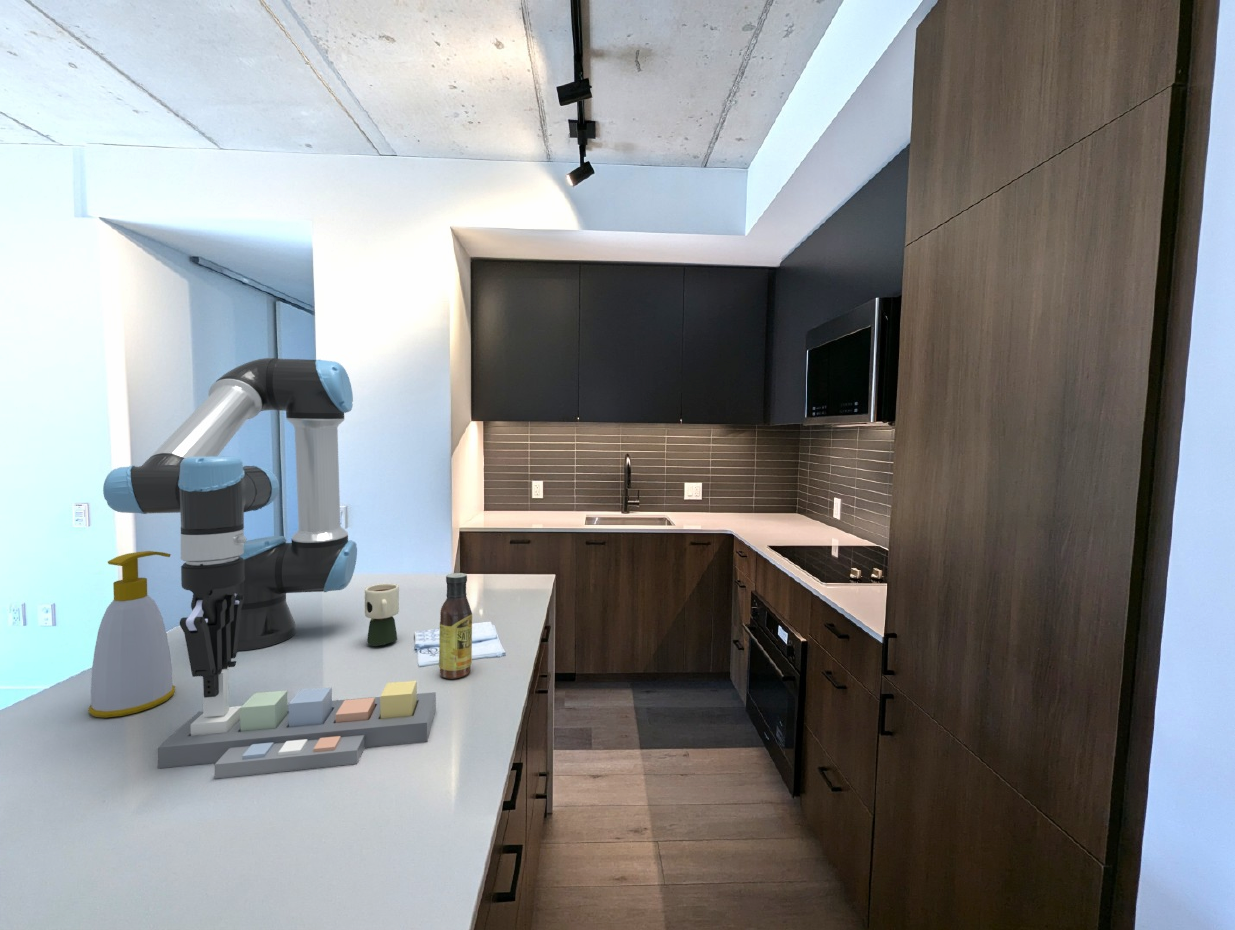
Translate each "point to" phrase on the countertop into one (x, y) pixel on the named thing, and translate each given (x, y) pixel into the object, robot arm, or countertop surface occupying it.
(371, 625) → the character mug
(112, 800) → the countertop surface
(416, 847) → the countertop surface
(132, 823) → the countertop surface
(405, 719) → the keypad
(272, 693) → the key sage
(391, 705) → the key mustard
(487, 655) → the folded patterned cloth
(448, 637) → the sauce bottle
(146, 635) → the soap bottle
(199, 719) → the key white
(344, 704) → the key terracotta
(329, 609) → the countertop surface
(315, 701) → the key slate
